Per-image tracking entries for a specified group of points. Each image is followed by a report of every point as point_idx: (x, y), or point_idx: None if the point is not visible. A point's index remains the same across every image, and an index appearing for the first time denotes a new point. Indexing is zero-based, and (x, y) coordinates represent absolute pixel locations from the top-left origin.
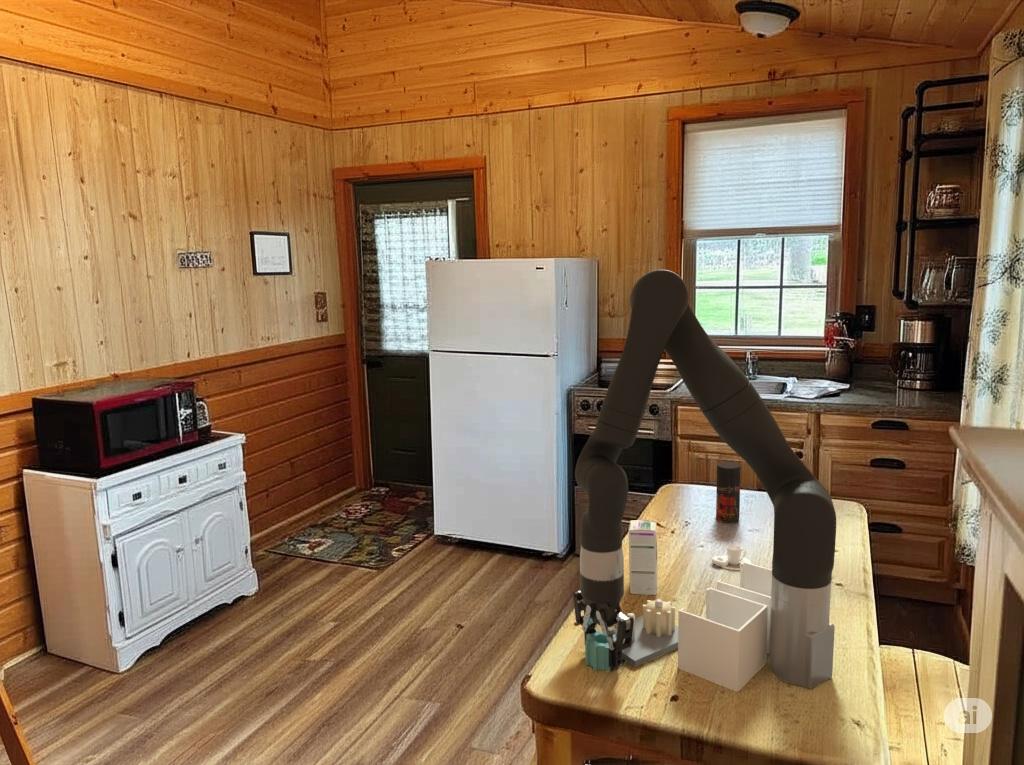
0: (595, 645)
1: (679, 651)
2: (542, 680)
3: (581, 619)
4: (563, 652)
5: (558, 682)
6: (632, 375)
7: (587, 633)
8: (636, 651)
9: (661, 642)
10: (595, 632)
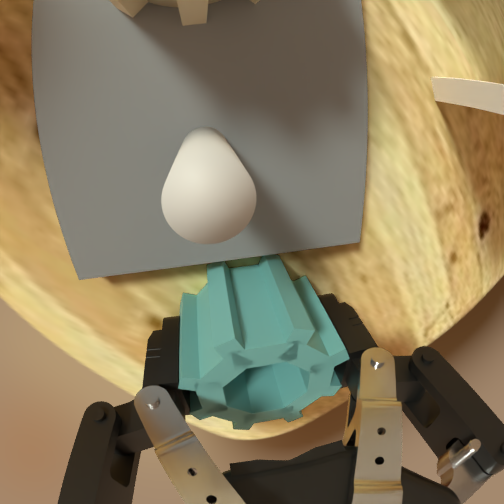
0: (292, 416)
1: (492, 110)
2: (235, 429)
3: (136, 453)
4: (134, 373)
5: None
6: None
7: (186, 412)
8: (313, 192)
9: (319, 27)
10: (197, 394)
